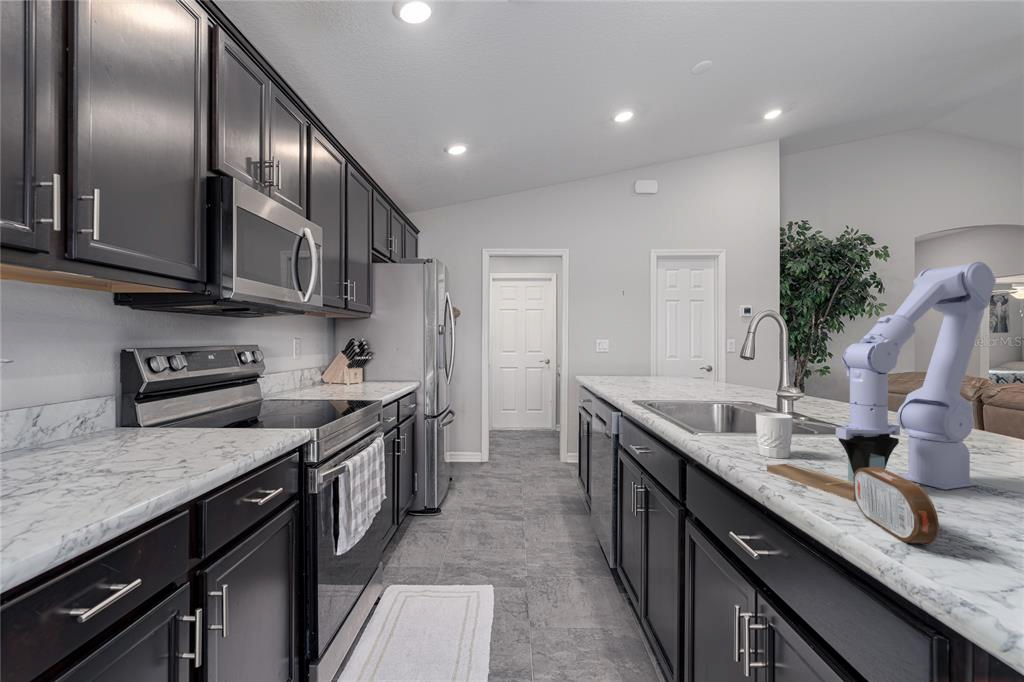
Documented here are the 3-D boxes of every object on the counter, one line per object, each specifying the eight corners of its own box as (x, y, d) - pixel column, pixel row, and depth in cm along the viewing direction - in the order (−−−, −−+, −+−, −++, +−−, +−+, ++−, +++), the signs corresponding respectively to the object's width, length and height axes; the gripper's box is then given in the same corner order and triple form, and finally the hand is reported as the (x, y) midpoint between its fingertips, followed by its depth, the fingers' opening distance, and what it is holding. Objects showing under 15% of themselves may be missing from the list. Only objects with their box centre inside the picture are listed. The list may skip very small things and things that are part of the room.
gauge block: (862, 479, 86) (862, 451, 86) (884, 485, 82) (884, 456, 82) (848, 480, 85) (848, 452, 85) (869, 487, 81) (869, 458, 81)
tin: (941, 555, 56) (941, 492, 56) (913, 553, 57) (913, 490, 57) (870, 511, 71) (870, 460, 71) (848, 510, 72) (849, 459, 72)
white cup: (763, 458, 103) (763, 417, 103) (750, 450, 111) (750, 411, 111) (799, 460, 101) (799, 418, 101) (783, 451, 109) (783, 412, 109)
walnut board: (788, 468, 94) (788, 463, 94) (878, 497, 77) (878, 490, 77) (766, 471, 93) (766, 465, 93) (853, 500, 75) (853, 493, 75)
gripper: (872, 400, 89) (872, 464, 89) (820, 402, 85) (820, 470, 85) (912, 404, 83) (912, 475, 83) (857, 407, 78) (857, 481, 78)
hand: (868, 473), depth 83 cm, fingers closed on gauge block, 4 cm apart
